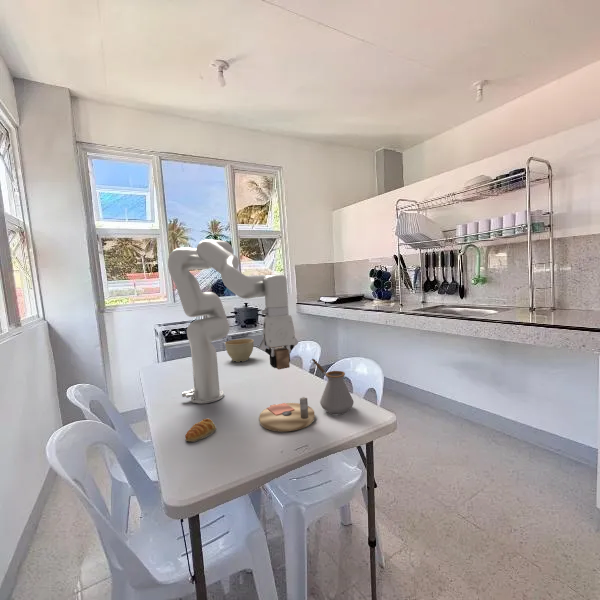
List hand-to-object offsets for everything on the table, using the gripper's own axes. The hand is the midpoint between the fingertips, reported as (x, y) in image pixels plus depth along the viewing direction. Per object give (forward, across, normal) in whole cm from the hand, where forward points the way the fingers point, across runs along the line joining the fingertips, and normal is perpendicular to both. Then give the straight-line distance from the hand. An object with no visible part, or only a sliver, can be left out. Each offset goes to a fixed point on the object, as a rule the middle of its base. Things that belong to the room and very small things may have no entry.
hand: (280, 365), depth 109 cm
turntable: (+17, 0, -4) cm, 18 cm away
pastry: (+17, -27, +1) cm, 32 cm away
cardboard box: (0, 0, 0) cm, 0 cm away
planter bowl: (+17, +8, +80) cm, 82 cm away
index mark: (+17, 0, +6) cm, 18 cm away
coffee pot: (+17, +17, -2) cm, 24 cm away
